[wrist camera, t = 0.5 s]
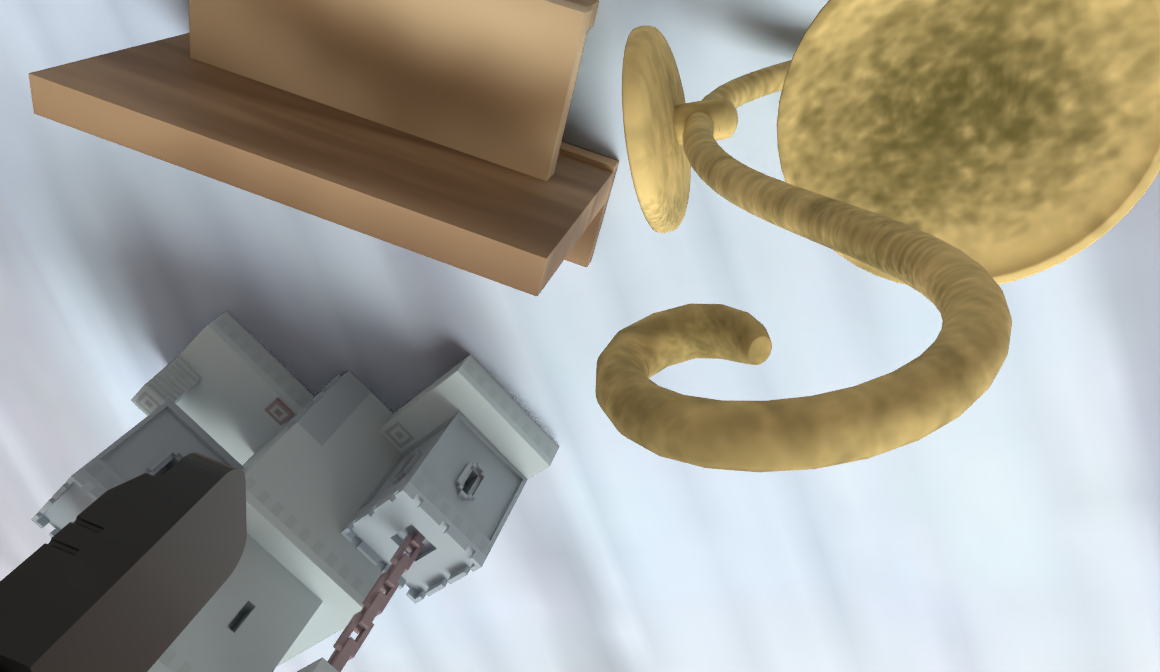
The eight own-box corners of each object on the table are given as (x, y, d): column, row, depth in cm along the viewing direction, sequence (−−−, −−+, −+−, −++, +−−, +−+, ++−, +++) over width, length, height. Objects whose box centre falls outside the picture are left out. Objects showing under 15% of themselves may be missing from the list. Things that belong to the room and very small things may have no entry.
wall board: (208, -131, 34) (1, -129, 26) (660, 13, 32) (594, 65, 24) (211, 125, 40) (44, 192, 32) (591, 260, 38) (519, 371, 30)
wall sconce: (702, 197, 35) (487, 683, 14) (666, -41, 31) (290, 153, 10) (1072, 156, 30) (1562, 791, 10) (1089, -132, 26) (2017, -119, 5)
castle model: (559, 446, 44) (300, 965, 23) (376, 560, 53) (70, 1009, 32) (326, 202, 41) (-223, 555, 20) (172, 368, 50) (-318, 732, 29)
